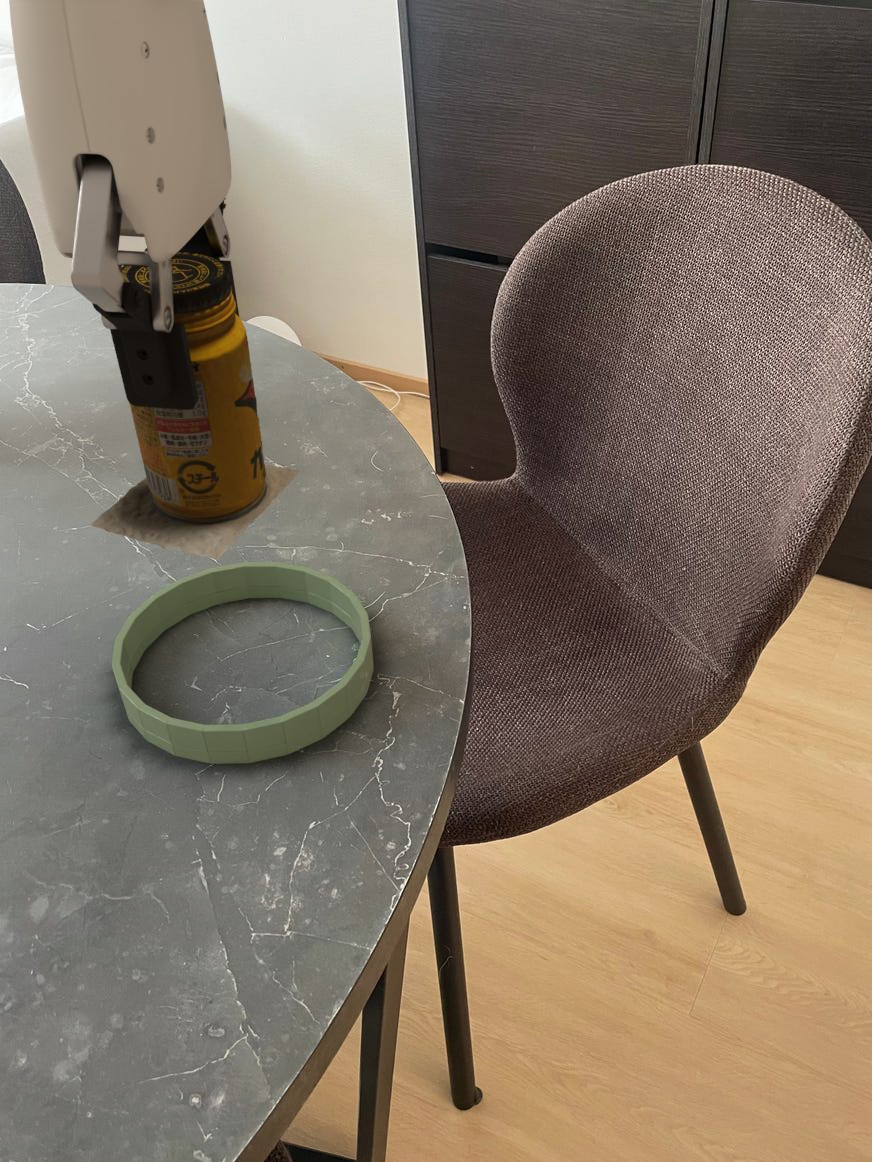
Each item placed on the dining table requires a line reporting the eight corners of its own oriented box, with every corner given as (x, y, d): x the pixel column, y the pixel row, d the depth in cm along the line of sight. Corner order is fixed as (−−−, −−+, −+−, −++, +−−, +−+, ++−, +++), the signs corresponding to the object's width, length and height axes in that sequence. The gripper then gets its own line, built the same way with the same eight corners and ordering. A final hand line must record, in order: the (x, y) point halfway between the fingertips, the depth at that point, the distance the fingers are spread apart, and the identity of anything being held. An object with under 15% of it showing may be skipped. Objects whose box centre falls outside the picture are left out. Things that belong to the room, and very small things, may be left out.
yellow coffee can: (299, 473, 57) (274, 255, 49) (218, 563, 51) (174, 331, 43) (182, 447, 58) (140, 232, 50) (91, 530, 52) (26, 302, 44)
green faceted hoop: (87, 767, 59) (69, 718, 57) (176, 599, 71) (165, 552, 68) (345, 792, 58) (338, 743, 55) (394, 617, 69) (391, 570, 67)
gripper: (95, -111, 45) (173, 292, 57) (-124, -39, 32) (36, 460, 44) (264, -106, 44) (307, 300, 56) (109, -32, 32) (207, 472, 44)
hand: (187, 366), depth 50 cm, fingers closed on yellow coffee can, 6 cm apart
